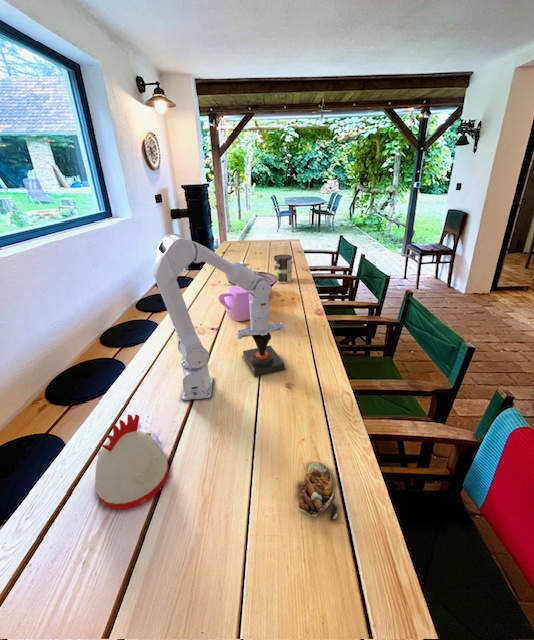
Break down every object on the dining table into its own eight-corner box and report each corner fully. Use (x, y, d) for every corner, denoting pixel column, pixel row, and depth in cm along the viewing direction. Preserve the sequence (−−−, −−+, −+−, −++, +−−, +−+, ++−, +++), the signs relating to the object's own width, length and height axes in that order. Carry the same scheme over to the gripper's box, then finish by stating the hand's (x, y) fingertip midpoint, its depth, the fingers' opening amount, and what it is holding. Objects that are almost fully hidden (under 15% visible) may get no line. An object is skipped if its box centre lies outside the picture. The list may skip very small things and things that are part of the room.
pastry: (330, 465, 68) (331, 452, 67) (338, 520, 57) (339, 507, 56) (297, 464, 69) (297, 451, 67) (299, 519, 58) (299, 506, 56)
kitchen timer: (182, 467, 69) (171, 412, 63) (128, 522, 59) (108, 462, 52) (139, 443, 76) (124, 392, 70) (83, 489, 65) (61, 433, 59)
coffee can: (279, 284, 180) (278, 259, 174) (271, 279, 189) (270, 255, 183) (295, 281, 184) (295, 257, 178) (286, 276, 192) (286, 253, 187)
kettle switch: (284, 369, 102) (284, 358, 100) (254, 376, 99) (254, 365, 98) (270, 350, 113) (270, 340, 112) (243, 356, 110) (242, 346, 109)
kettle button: (269, 360, 102) (269, 355, 101) (257, 362, 101) (257, 358, 100) (265, 354, 105) (265, 349, 105) (254, 356, 104) (253, 352, 103)
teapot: (213, 315, 144) (209, 283, 137) (254, 305, 153) (252, 274, 147) (236, 334, 126) (232, 298, 119) (281, 321, 135) (280, 287, 129)
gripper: (239, 324, 91) (243, 365, 97) (287, 315, 95) (287, 355, 101) (233, 315, 97) (237, 353, 103) (278, 307, 101) (279, 345, 107)
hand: (261, 353), depth 102 cm, fingers closed, pressing on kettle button
